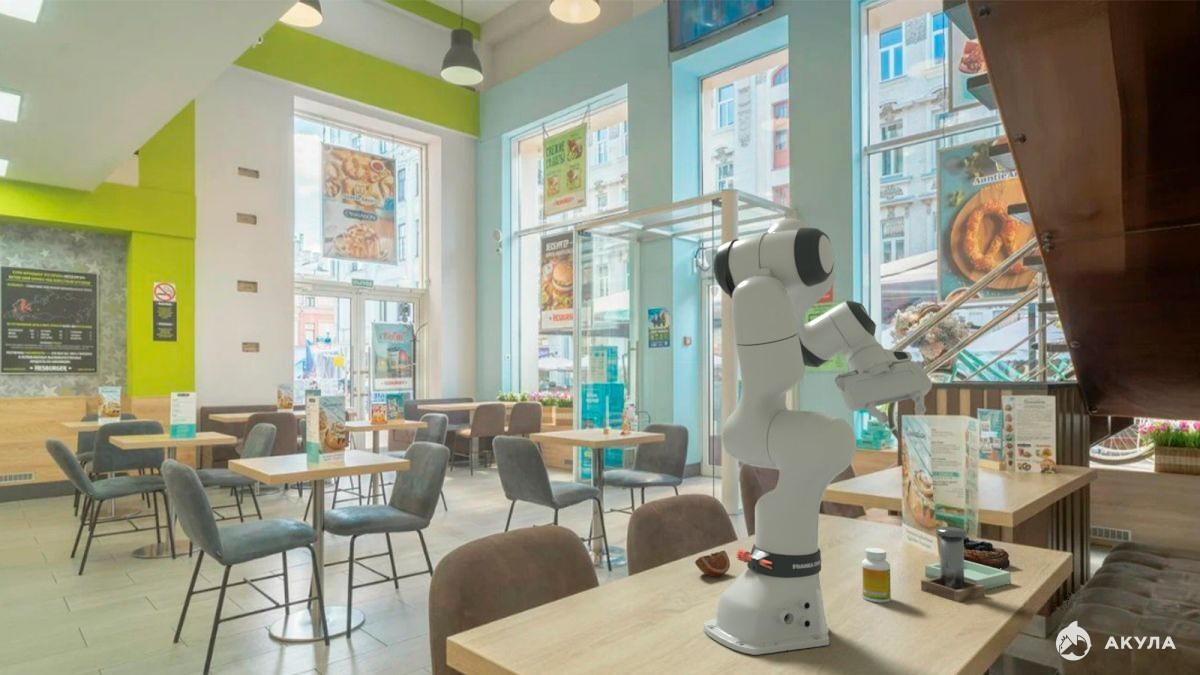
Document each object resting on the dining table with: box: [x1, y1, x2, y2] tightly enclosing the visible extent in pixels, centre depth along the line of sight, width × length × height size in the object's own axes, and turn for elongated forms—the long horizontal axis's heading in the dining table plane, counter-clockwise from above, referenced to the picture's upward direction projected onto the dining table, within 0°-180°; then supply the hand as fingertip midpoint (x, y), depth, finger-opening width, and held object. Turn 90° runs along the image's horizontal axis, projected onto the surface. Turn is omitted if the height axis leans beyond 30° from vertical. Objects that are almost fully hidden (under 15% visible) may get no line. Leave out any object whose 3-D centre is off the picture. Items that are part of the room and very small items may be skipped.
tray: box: [924, 560, 1012, 591], centre depth 151 cm, size 12×12×2 cm
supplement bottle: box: [861, 547, 891, 603], centre depth 138 cm, size 5×5×10 cm
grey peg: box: [936, 526, 968, 590], centre depth 142 cm, size 6×6×13 cm
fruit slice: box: [694, 550, 731, 577], centre depth 153 cm, size 8×7×5 cm
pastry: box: [963, 537, 1011, 570], centre depth 164 cm, size 11×12×6 cm
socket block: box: [920, 576, 985, 603], centre depth 142 cm, size 8×8×2 cm
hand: (903, 417), depth 149 cm, fingers open, 8 cm apart
